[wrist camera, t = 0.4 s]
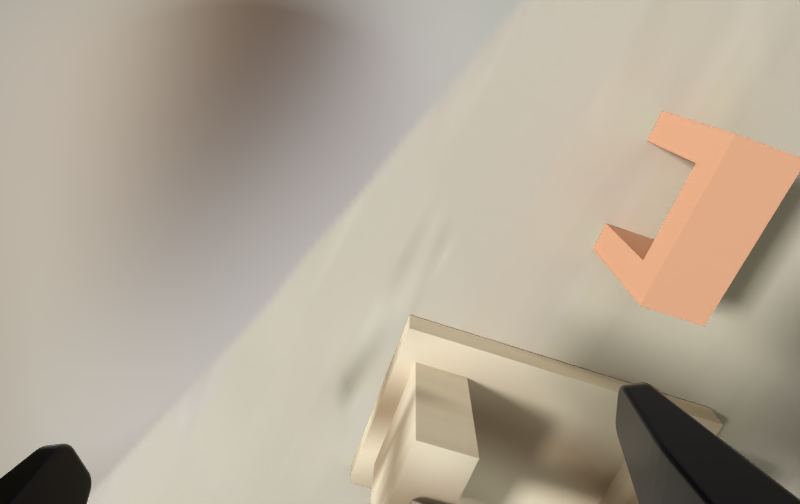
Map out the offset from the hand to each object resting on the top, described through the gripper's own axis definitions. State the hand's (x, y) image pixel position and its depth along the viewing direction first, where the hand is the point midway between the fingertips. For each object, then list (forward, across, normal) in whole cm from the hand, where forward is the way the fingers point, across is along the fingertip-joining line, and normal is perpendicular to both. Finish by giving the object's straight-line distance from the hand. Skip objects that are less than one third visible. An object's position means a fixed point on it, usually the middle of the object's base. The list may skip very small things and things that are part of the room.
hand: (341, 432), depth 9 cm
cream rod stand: (+12, -5, +15) cm, 20 cm away
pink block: (+14, -11, +4) cm, 18 cm away
